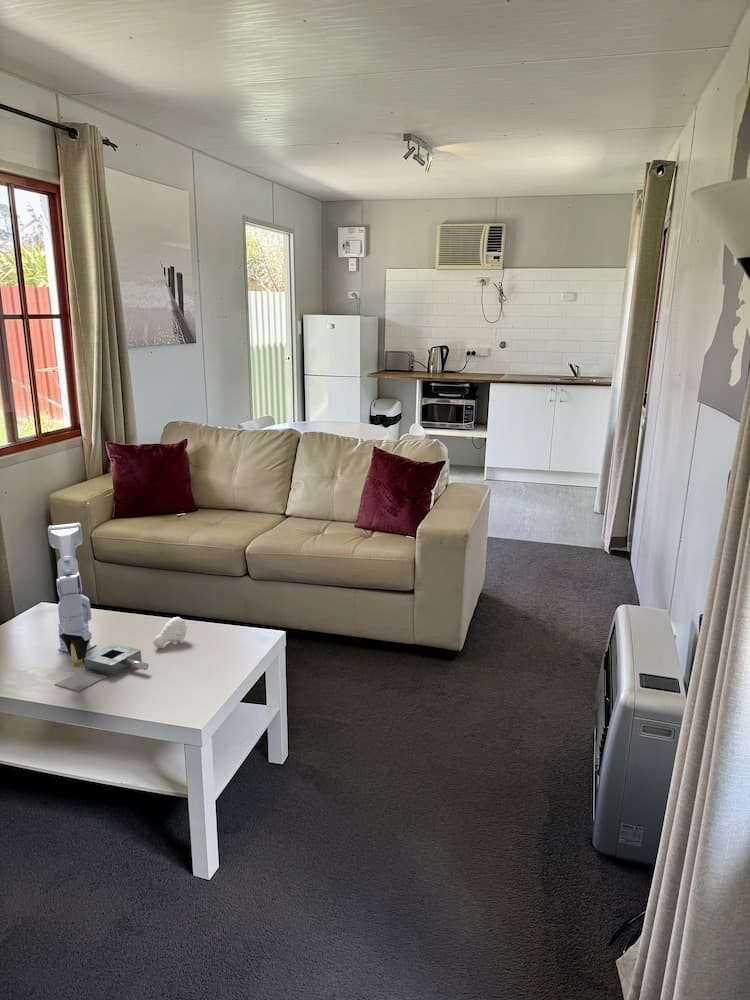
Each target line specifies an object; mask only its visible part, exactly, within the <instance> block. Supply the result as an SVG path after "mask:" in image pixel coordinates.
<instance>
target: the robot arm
mask: <svg viewBox="0 0 750 1000" xmlns="http://www.w3.org/2000/svg"><path fill="white" fill-rule="evenodd" d="M82 531H83V530H82V524H81V523H80V522H73V523H66V524H65V523H64V524H56V525H51V524H50V525H48V526H47V534H48V535H47V536H48V542H49V544H50V546H51V547H52V549H57V550H58V551H59V555H60V558H59V559H58V560H57V578H56V588H57V589H56V591H57V594H58V598H59V601H58V606H57V607H58V611H57V612H58V619H59V623H58V624H57V625H58V636H59V637H58V638H59V645H60V647H58V650H59V651H63V652H66V653H68V654H69V656H70V657H71V645H70V643H71V642H72V644H73V646H74V648H75V651H76V655H77V658H78V660H80V659H83V658H85V657H87V656H86V655H87V651H88V650H90V649H92V648H95V647H96V646H97V643H94V642H91V640H92V639H93V637H92V636H93V635H92V632H90V630H89V629H90V628H89V622H90V621H92V610H91V603H90V599H89V597H88V596H85V594H82V591H83V585H82V577H81V575H80V571H79V561H78V560H77V558H76V550H77V547H79V546H80V545H82V544H83V539H84V538H83V532H82Z"/></svg>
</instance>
